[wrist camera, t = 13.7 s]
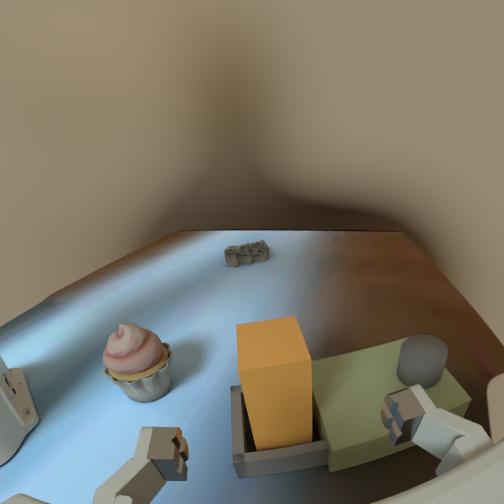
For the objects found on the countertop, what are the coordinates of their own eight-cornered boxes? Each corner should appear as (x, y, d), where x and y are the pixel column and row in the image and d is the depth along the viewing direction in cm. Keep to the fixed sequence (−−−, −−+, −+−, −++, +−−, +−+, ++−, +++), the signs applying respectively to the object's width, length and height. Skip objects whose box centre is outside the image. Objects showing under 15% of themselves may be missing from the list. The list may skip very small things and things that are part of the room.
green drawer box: (459, 424, 21) (481, 375, 19) (239, 486, 21) (223, 447, 18) (411, 360, 32) (419, 313, 30) (235, 398, 32) (223, 352, 30)
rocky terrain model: (227, 270, 71) (224, 253, 70) (225, 259, 78) (222, 244, 77) (272, 262, 72) (270, 245, 70) (266, 252, 79) (264, 236, 78)
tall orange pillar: (312, 451, 24) (311, 359, 20) (258, 459, 23) (238, 370, 20) (300, 408, 29) (295, 315, 25) (254, 415, 29) (236, 324, 25)
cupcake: (107, 382, 36) (79, 321, 32) (164, 357, 41) (144, 296, 38) (129, 424, 28) (94, 357, 25) (196, 390, 34) (174, 322, 31)
